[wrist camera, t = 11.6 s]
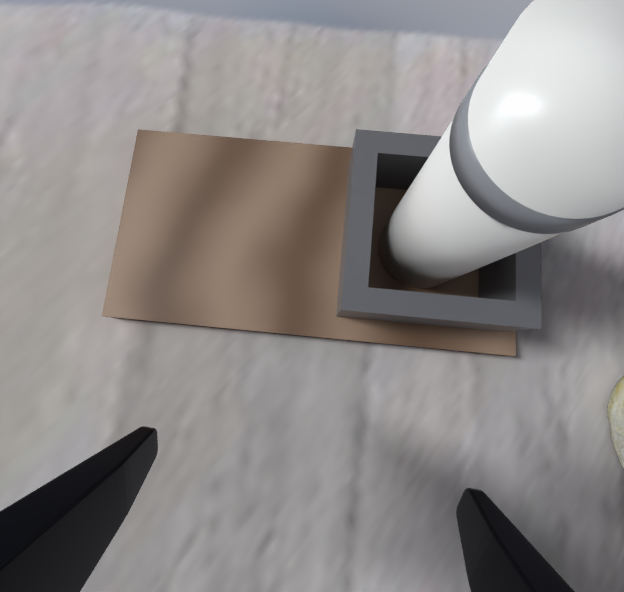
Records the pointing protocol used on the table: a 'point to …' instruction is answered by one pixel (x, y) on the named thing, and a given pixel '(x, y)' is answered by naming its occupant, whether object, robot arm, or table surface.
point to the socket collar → (417, 305)
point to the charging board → (257, 244)
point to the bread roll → (617, 418)
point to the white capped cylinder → (521, 148)
